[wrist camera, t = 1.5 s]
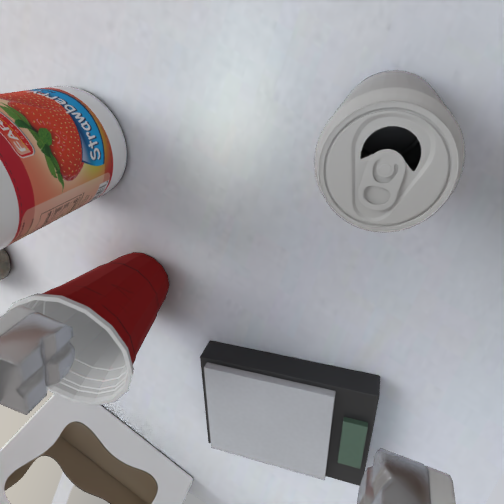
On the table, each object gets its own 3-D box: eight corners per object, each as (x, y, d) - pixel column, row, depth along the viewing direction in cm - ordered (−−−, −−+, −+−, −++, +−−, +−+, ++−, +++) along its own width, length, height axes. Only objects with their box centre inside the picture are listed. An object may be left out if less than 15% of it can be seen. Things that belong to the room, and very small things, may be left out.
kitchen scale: (380, 375, 37) (378, 403, 34) (363, 464, 43) (361, 494, 40) (209, 340, 41) (196, 362, 38) (216, 425, 47) (205, 449, 45)
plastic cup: (192, 334, 42) (128, 428, 32) (102, 304, 44) (15, 384, 34) (198, 244, 36) (123, 324, 26) (95, 216, 38) (-11, 279, 28)
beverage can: (457, 80, 25) (501, 109, 14) (418, 178, 28) (432, 258, 18) (355, 60, 26) (330, 74, 16) (329, 156, 29) (295, 219, 19)
